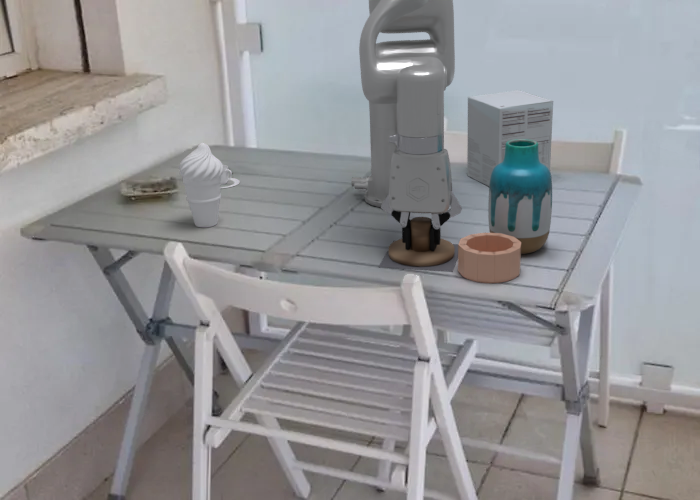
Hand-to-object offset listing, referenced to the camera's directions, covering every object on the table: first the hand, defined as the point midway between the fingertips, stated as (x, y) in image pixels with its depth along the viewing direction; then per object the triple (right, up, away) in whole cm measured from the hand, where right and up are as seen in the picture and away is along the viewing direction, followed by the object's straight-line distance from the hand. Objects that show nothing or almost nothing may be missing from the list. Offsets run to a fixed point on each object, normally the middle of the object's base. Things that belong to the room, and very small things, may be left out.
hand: (421, 246), depth 160 cm
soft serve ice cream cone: (-40, +4, +21) cm, 45 cm away
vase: (+17, -1, +2) cm, 17 cm away
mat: (0, -2, 0) cm, 2 cm away
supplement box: (+22, +14, +41) cm, 49 cm away
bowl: (+11, -5, -7) cm, 13 cm away
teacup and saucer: (-41, +14, +49) cm, 65 cm away
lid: (0, -1, 0) cm, 1 cm away
